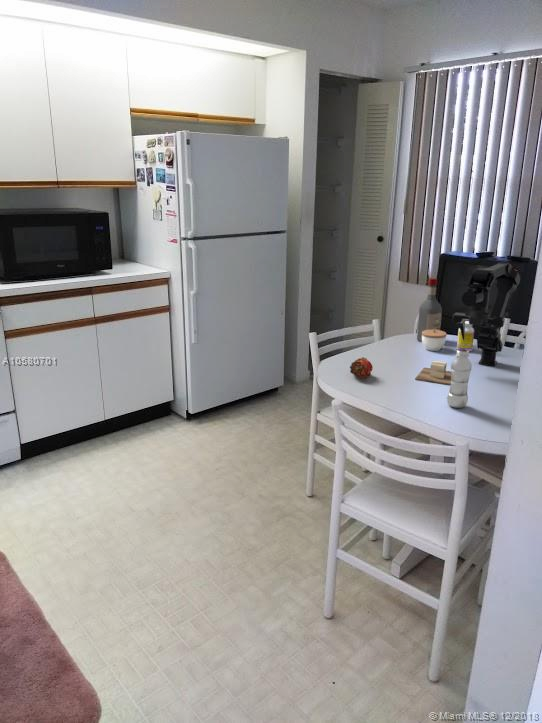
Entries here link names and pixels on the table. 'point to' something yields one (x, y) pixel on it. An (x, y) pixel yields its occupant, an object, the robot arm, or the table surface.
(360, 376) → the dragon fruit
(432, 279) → the liquor
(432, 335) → the lidded jar
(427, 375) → the walnut board
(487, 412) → the table surface
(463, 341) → the supplement bottle
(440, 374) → the maple cube
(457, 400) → the plastic bottle
